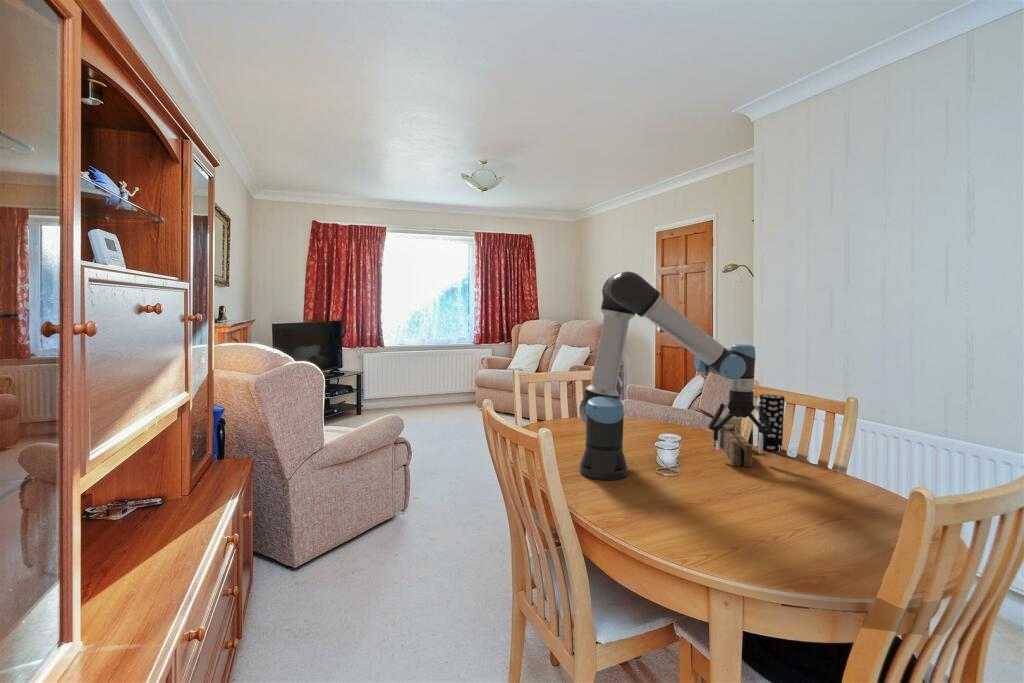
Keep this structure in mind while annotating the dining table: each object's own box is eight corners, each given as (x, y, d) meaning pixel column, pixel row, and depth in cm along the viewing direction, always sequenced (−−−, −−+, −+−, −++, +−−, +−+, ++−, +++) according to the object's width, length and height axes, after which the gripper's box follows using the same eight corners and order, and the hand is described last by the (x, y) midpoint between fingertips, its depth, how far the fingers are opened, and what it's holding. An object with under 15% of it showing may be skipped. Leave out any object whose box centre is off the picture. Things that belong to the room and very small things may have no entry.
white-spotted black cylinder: (752, 447, 194) (754, 395, 193) (767, 444, 198) (769, 393, 196) (771, 453, 187) (774, 399, 185) (787, 450, 190) (789, 397, 189)
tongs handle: (718, 442, 201) (718, 421, 201) (730, 442, 200) (730, 422, 200) (723, 449, 190) (724, 428, 190) (736, 450, 190) (737, 429, 189)
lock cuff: (712, 442, 199) (713, 416, 199) (738, 444, 197) (739, 417, 197) (714, 444, 196) (715, 417, 196) (739, 446, 194) (741, 419, 194)
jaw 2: (730, 449, 190) (731, 430, 190) (736, 449, 190) (737, 431, 189) (744, 466, 170) (745, 445, 170) (751, 466, 170) (752, 446, 170)
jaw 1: (723, 449, 191) (723, 430, 190) (729, 449, 190) (730, 430, 190) (733, 465, 171) (734, 444, 171) (740, 466, 171) (741, 445, 170)
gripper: (704, 390, 173) (702, 451, 175) (784, 393, 168) (781, 456, 170) (701, 386, 181) (699, 445, 182) (778, 389, 175) (775, 450, 177)
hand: (738, 451), depth 176 cm, fingers open, 13 cm apart
